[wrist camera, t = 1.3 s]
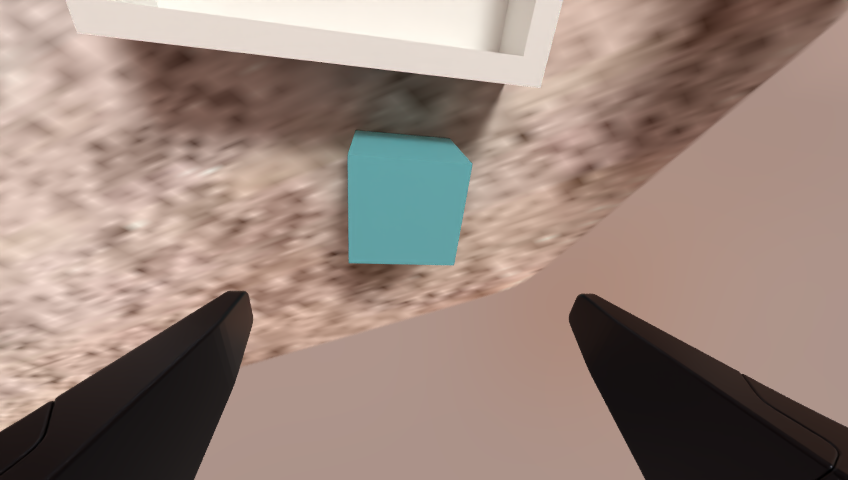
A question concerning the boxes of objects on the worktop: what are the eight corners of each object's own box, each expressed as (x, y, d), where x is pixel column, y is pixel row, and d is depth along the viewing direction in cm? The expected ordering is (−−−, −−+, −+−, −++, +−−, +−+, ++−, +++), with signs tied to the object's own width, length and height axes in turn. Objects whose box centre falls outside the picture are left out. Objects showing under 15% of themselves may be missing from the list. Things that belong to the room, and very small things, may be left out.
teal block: (449, 138, 17) (472, 164, 13) (437, 220, 20) (454, 265, 15) (355, 129, 16) (347, 154, 12) (355, 216, 19) (348, 263, 15)
